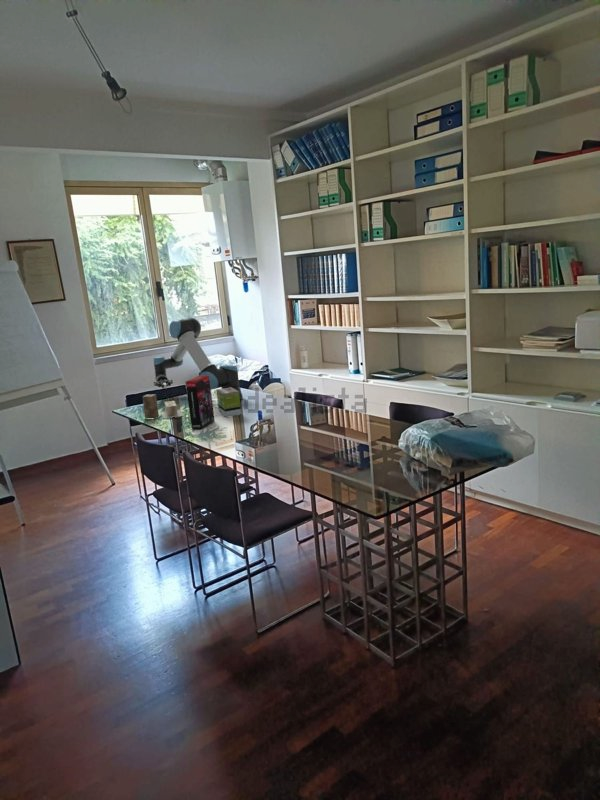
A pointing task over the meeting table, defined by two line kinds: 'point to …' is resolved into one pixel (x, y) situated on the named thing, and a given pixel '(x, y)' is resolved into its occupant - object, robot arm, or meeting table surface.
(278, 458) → the meeting table surface
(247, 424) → the meeting table surface
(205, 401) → the graphics card box
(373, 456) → the meeting table surface
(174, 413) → the beech block
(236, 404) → the tea box
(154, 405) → the walnut block
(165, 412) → the grey felt mat
